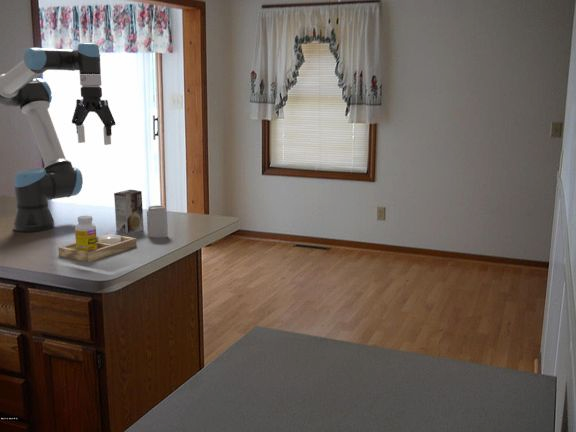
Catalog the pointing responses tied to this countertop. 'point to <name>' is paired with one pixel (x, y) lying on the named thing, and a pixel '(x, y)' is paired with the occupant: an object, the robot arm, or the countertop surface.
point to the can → (157, 221)
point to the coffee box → (129, 211)
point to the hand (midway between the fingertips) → (94, 143)
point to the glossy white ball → (109, 239)
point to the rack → (101, 250)
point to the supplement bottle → (85, 234)
